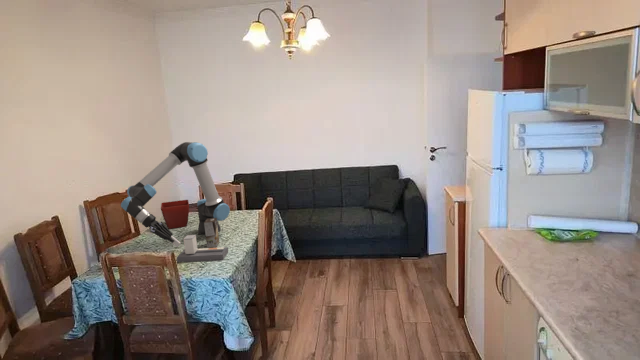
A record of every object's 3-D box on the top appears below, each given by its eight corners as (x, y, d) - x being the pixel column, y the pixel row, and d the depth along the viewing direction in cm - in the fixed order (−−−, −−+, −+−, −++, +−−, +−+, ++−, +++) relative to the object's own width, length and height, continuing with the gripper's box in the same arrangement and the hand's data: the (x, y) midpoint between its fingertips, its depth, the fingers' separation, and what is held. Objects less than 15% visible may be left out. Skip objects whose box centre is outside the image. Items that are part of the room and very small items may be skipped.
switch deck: (177, 262, 237) (176, 256, 237) (184, 254, 249) (184, 249, 248) (223, 259, 236) (222, 254, 235) (228, 252, 248) (227, 246, 247)
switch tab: (185, 254, 239) (183, 238, 237) (189, 250, 245) (187, 235, 243) (194, 253, 239) (192, 238, 237) (197, 249, 245) (195, 234, 243)
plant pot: (191, 220, 323) (188, 199, 320) (191, 227, 305) (188, 204, 302) (164, 224, 317) (161, 202, 314) (163, 231, 299) (160, 208, 296)
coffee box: (217, 246, 258) (214, 221, 255) (206, 247, 258) (203, 222, 254) (219, 242, 267) (216, 217, 264) (209, 243, 267) (206, 218, 263)
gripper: (147, 219, 246) (179, 245, 249) (136, 226, 233) (170, 253, 236) (154, 210, 245) (186, 236, 247) (144, 216, 232) (178, 244, 234)
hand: (178, 244), depth 241 cm, fingers closed
